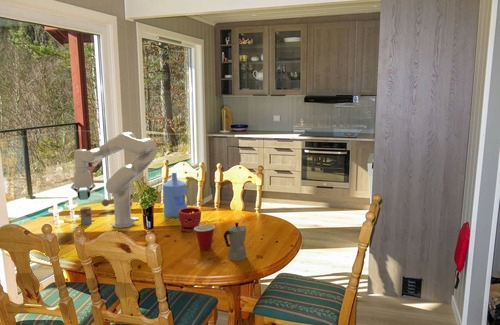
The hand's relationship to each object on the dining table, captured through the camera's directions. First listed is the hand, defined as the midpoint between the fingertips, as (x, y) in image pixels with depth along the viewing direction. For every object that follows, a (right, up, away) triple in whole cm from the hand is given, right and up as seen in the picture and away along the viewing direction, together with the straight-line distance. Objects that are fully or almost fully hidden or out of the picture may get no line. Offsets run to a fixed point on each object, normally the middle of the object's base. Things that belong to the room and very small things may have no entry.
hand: (84, 197), depth 257 cm
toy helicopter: (+11, -11, +34) cm, 38 cm away
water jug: (+54, -13, +20) cm, 59 cm away
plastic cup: (+80, -24, -39) cm, 92 cm away
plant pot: (+68, -18, -9) cm, 71 cm away
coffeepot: (+96, -26, -51) cm, 112 cm away
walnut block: (+1, -11, +2) cm, 12 cm away
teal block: (0, 0, 0) cm, 0 cm away
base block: (0, -16, +3) cm, 17 cm away
